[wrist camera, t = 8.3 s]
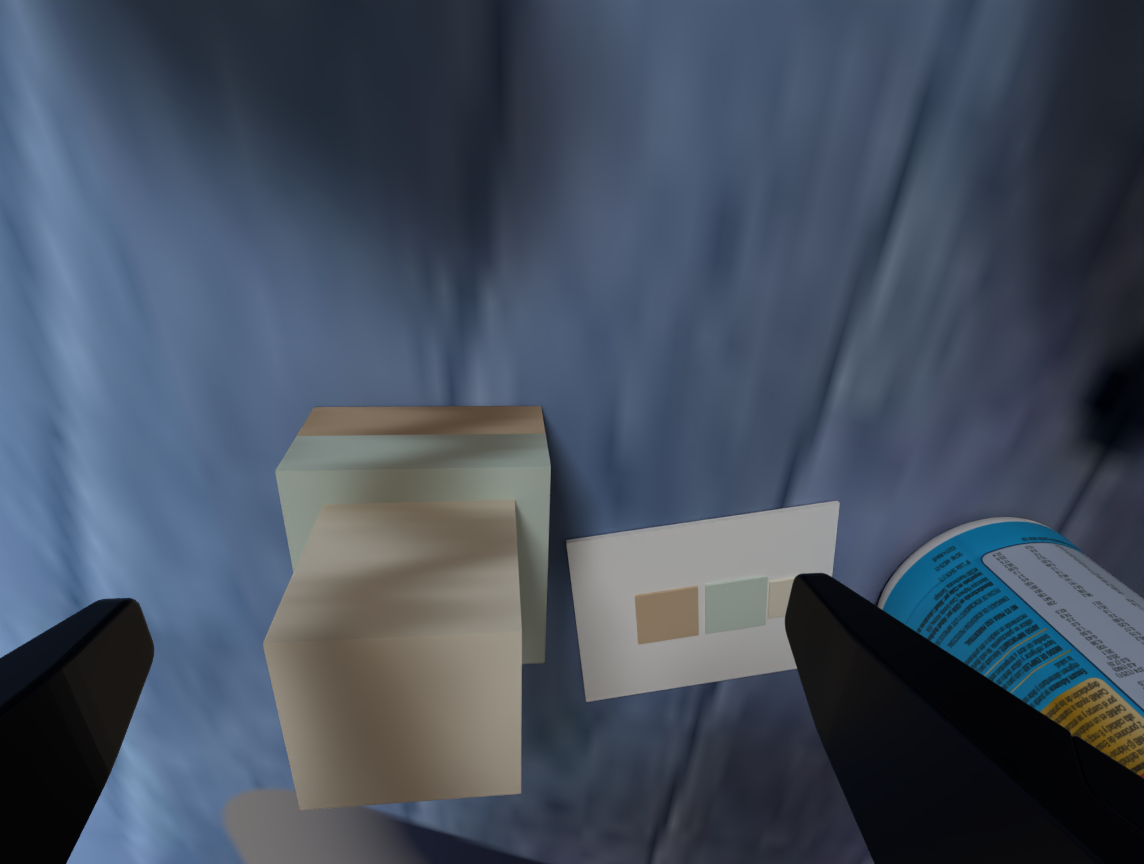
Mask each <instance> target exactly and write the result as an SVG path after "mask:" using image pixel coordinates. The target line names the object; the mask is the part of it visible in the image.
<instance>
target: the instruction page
mask: <svg viewBox="0 0 1144 864" xmlns="http://www.w3.org/2000/svg"><path fill="white" fill-rule="evenodd" d="M839 505H840V504H839V502H838V501H832V502H825V503H818V504H811V505H804V506H797V507H790V508H783V509H776V510H770V511H763V512H756V513H749V514H742V515H735V516H728V517H721V518H715V519H708V520H701V521H694V522H687V523H680V524H673V525H666V526H659V527H653V528H646V529H639V530H632V531H625V532H618V533H611V534H604V535H598V536H591V537H584V538H577V539H570V540H566V545H567V553H568V561H569V569H570V577H571V585H572V593H573V601H574V609H575V617H576V625H577V633H578V641H579V649H580V657H581V665H582V673H583V681H584V689H585V697H586V702H590V701H596V700H602V699H609V698H615V697H621V696H627V695H634V694H640V693H646V692H653V691H659V690H665V689H672V688H678V687H684V686H690V685H697V684H703V683H709V682H716V681H722V680H728V679H735V678H741V677H747V676H753V675H760V674H766V673H772V672H779V671H785V670H791V669H797V667H796V663H795V660H794V657H793V654H792V651H791V648H790V644H789V641H788V638H787V635H786V631H785V614H786V610H787V605H788V601H789V597H790V592H791V588H792V584H793V581H794V578H795V577H796V576H797V575H799V574H802V573H825V574H827V575H829V576H831V577H832V572H833V563H834V553H835V543H836V534H837V524H838V514H839Z"/></svg>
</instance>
